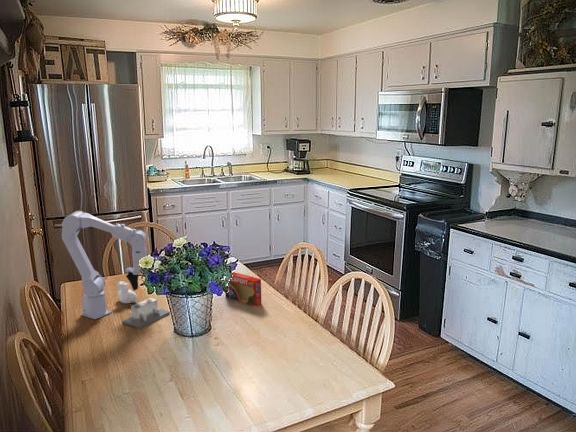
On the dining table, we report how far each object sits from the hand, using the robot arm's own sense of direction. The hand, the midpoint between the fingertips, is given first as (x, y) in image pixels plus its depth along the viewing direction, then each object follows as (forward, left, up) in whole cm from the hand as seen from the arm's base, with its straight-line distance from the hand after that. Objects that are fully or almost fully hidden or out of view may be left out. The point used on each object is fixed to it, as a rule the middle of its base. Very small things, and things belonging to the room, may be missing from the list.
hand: (142, 290), depth 188 cm
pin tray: (+6, -4, -9) cm, 12 cm away
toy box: (+29, +31, -10) cm, 44 cm away
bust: (-15, +3, -10) cm, 18 cm away
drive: (+6, -5, -8) cm, 11 cm away
